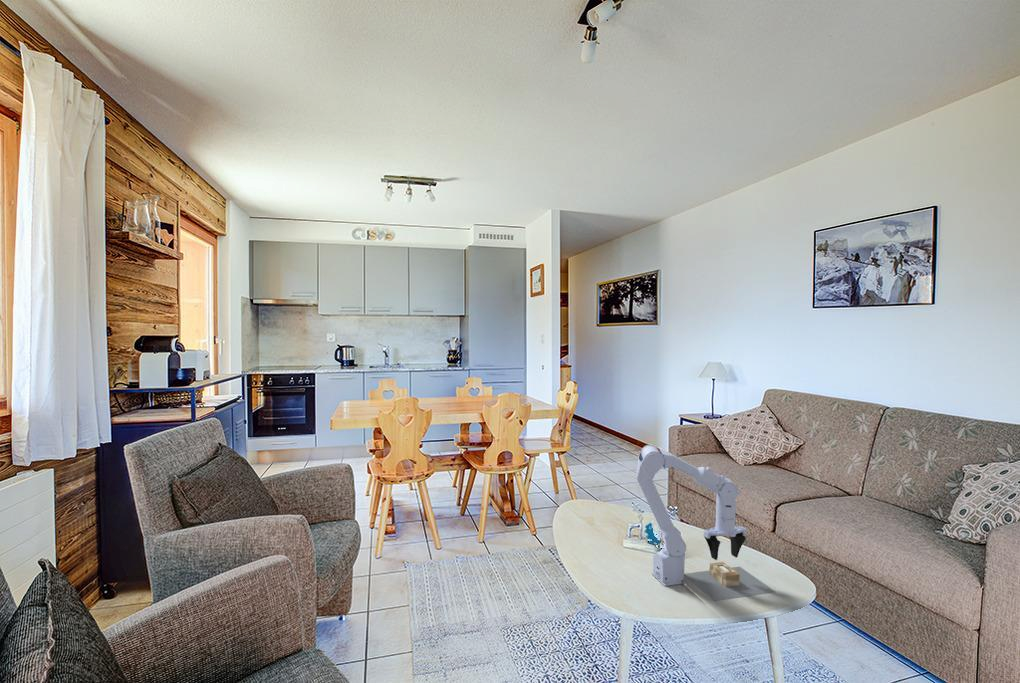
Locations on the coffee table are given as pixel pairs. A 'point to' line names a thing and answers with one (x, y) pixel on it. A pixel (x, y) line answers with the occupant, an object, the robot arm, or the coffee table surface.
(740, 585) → the board
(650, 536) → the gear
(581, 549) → the coffee table surface
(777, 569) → the coffee table surface
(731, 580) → the open rectangular tan frame
